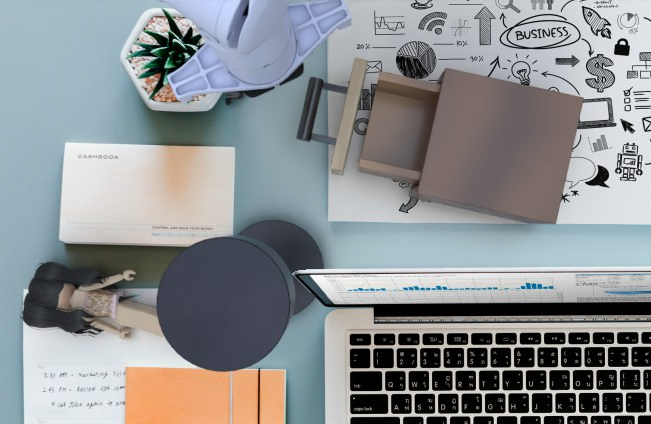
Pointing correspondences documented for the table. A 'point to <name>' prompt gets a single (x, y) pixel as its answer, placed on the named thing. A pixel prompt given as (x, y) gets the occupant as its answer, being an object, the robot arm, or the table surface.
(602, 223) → the table surface
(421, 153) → the drawer
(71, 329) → the toy figure
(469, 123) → the cabinet
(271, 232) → the desk lamp
